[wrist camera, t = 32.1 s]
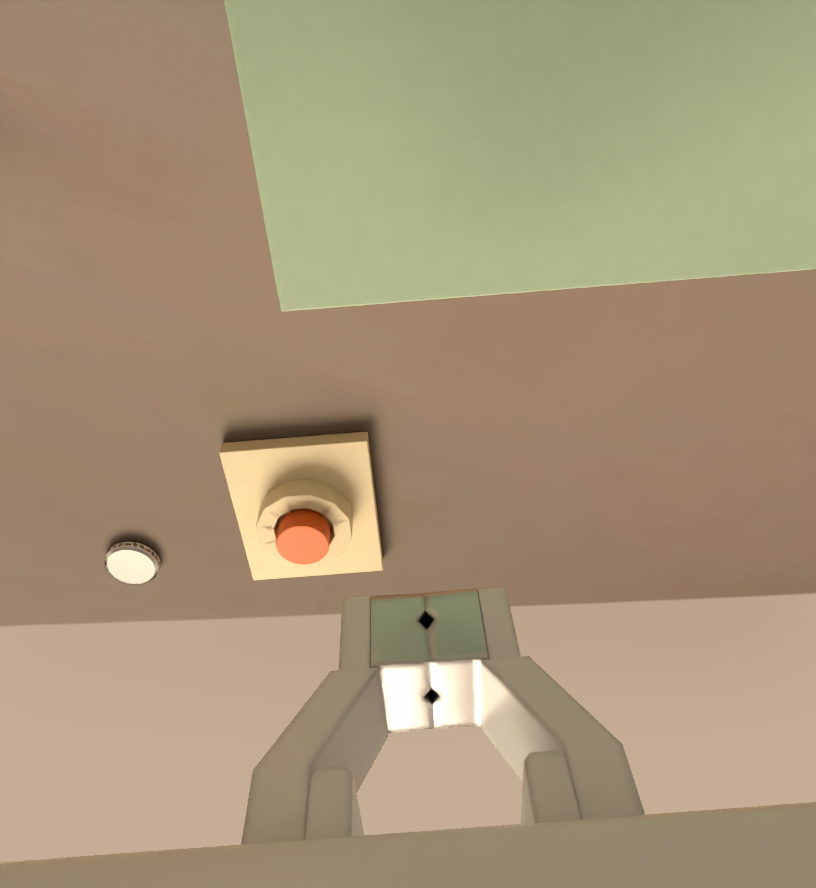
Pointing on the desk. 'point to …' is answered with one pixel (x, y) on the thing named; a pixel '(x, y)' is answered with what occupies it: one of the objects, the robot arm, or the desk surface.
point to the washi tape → (132, 563)
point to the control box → (305, 500)
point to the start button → (303, 537)
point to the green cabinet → (526, 143)
